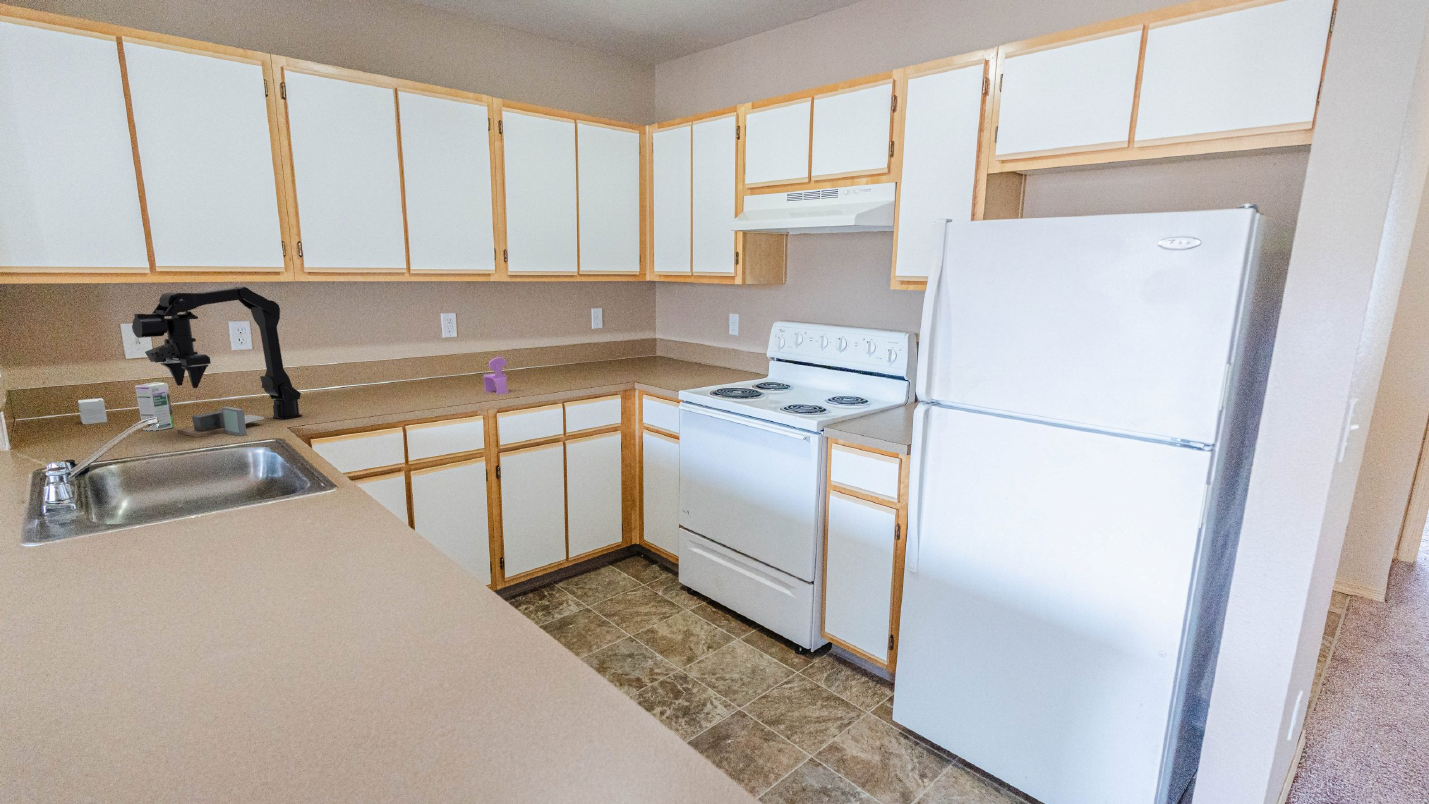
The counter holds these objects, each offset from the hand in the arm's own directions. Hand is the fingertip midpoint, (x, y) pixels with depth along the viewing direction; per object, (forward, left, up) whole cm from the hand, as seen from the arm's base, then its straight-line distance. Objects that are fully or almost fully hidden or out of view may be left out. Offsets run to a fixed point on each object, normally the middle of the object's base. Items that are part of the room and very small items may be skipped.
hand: (187, 386), depth 202 cm
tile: (-6, +11, -15) cm, 19 cm away
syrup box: (+2, -17, -15) cm, 23 cm away
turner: (-9, +2, -13) cm, 16 cm away
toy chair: (-99, +25, -15) cm, 103 cm away
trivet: (-4, 0, -15) cm, 15 cm away
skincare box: (+7, -47, -15) cm, 50 cm away
